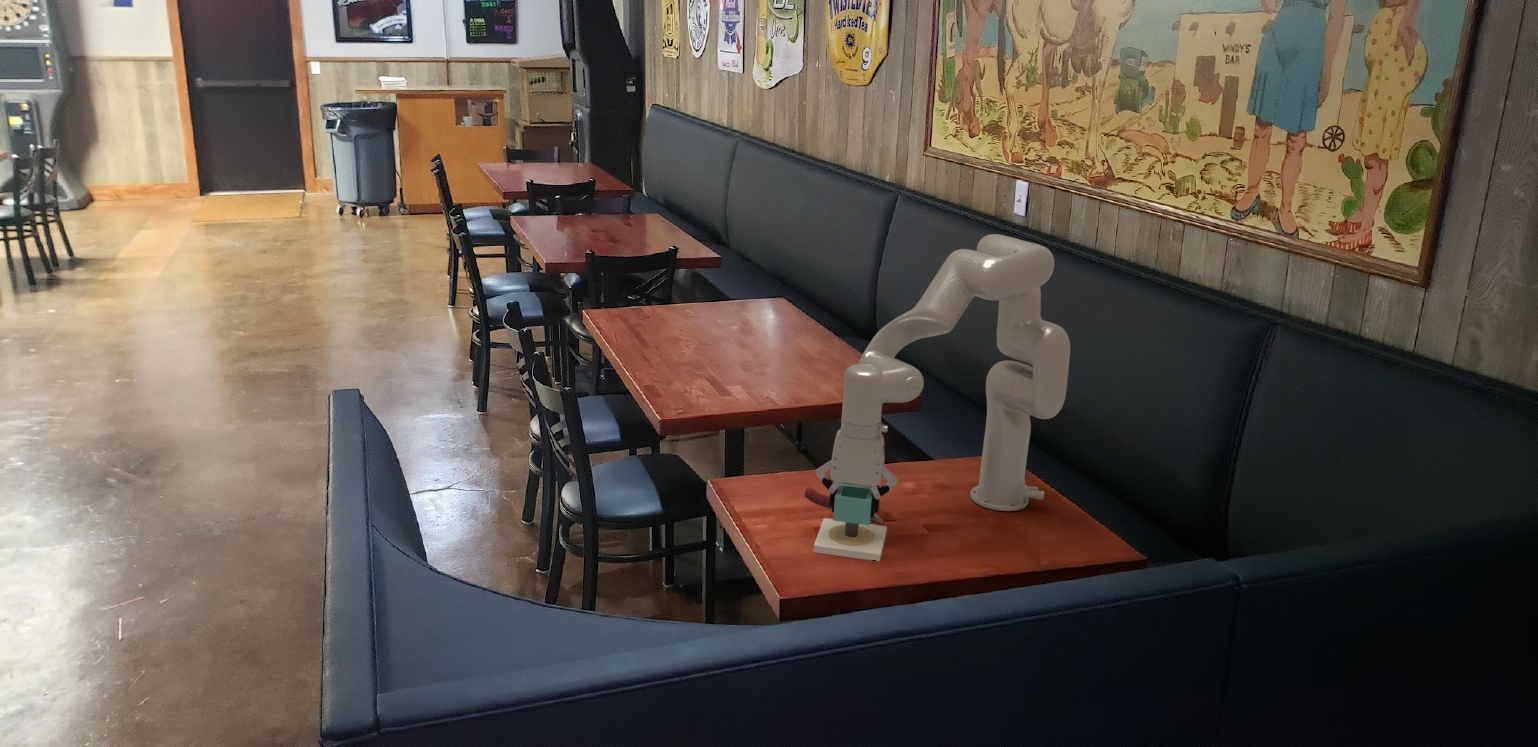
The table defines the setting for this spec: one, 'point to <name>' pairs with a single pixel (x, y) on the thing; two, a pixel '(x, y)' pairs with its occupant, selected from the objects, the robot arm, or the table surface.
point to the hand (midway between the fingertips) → (853, 511)
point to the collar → (853, 504)
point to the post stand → (850, 540)
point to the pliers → (825, 499)
